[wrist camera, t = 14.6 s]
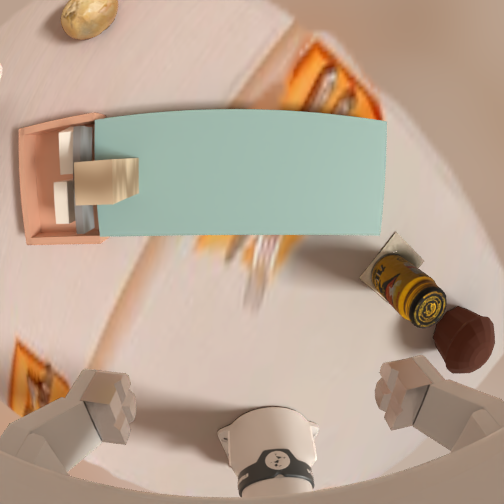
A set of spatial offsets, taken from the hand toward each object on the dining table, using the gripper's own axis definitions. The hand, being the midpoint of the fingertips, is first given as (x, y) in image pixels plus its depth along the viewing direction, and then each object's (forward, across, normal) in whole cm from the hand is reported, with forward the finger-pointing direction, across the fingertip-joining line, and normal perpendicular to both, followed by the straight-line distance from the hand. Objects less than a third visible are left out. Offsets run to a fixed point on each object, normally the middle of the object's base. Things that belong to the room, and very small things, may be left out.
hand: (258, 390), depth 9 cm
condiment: (+31, +22, -7) cm, 39 cm away
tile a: (+28, -20, +4) cm, 34 cm away
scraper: (+27, -15, +6) cm, 31 cm away
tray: (+31, -23, +6) cm, 39 cm away
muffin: (+32, +38, -20) cm, 53 cm away
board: (+31, 0, +6) cm, 31 cm away
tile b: (+27, -19, +10) cm, 35 cm away
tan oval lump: (+30, -19, +29) cm, 46 cm away
